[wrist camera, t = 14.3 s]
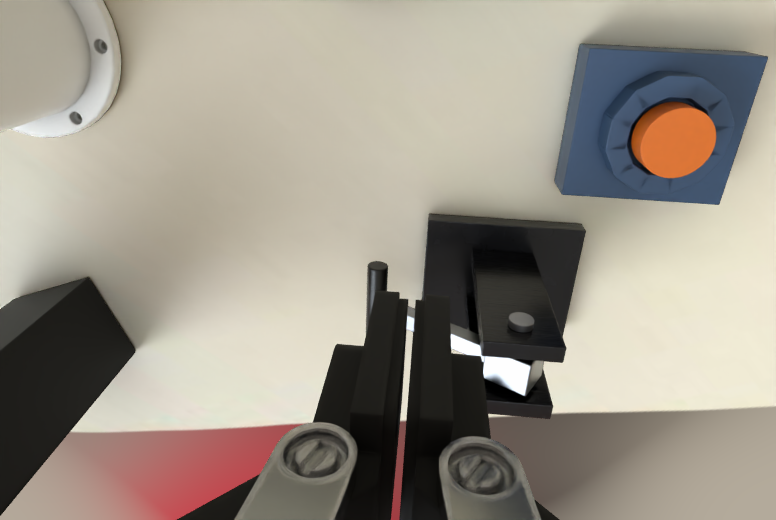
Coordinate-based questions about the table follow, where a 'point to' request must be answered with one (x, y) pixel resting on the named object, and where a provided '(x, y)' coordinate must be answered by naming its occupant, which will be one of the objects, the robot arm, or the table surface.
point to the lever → (465, 342)
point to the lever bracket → (507, 292)
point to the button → (673, 139)
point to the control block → (637, 96)
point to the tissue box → (51, 373)
